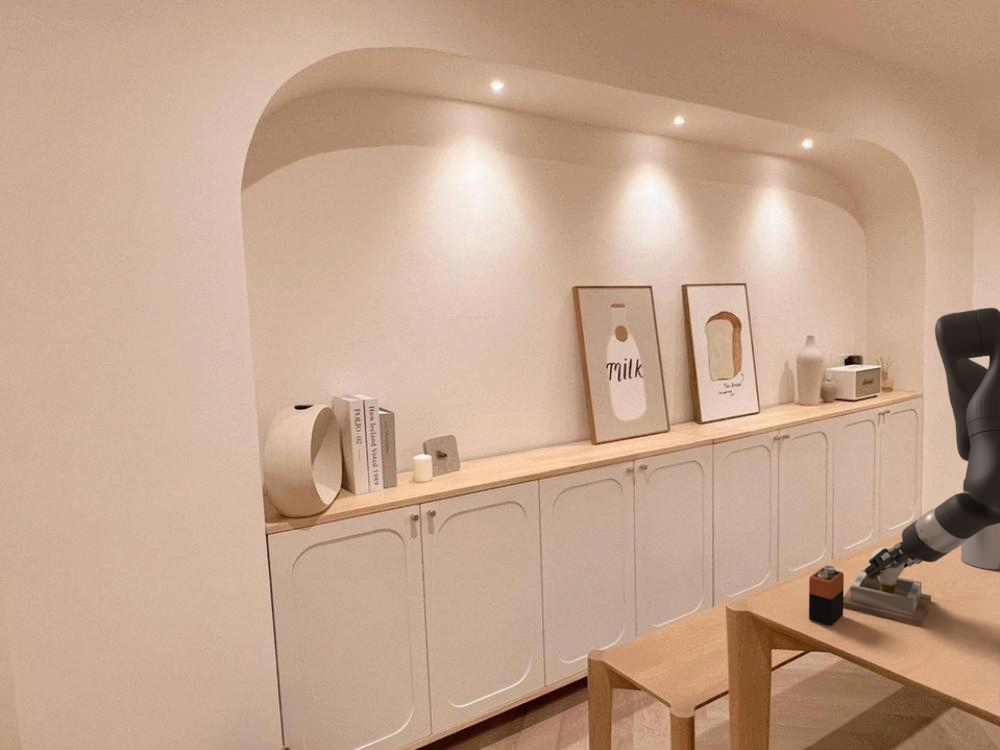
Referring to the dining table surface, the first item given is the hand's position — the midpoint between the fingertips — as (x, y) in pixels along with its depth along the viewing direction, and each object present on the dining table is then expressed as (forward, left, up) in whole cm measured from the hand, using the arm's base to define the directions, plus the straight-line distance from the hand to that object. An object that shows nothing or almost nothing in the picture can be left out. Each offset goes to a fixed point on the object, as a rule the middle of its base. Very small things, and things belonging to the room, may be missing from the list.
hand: (879, 571), depth 134 cm
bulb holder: (+1, +1, -6) cm, 6 cm away
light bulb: (+1, +1, -4) cm, 5 cm away
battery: (+15, -7, -6) cm, 18 cm away
